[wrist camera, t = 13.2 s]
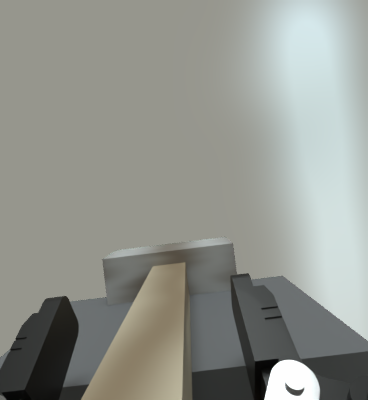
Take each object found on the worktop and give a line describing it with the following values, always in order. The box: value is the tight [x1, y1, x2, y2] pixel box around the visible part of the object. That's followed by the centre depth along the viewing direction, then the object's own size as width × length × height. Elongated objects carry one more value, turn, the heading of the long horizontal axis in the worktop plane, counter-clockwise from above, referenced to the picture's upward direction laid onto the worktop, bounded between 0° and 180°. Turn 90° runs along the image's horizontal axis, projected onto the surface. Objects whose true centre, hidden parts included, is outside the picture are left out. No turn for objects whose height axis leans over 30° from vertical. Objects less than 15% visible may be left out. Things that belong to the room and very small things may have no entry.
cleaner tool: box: [81, 237, 237, 400], centre depth 16 cm, size 10×20×4 cm, turn 179°
